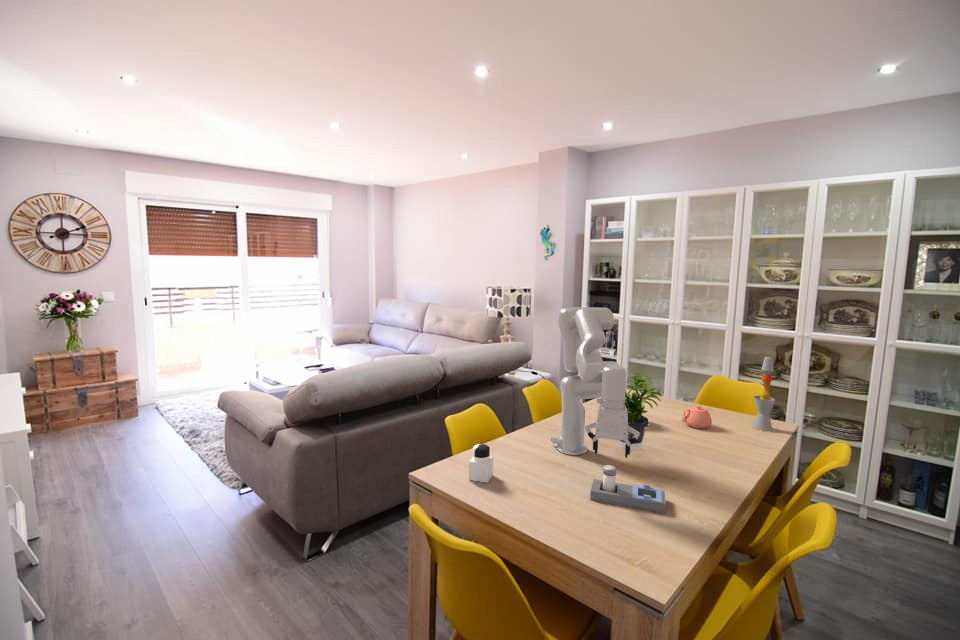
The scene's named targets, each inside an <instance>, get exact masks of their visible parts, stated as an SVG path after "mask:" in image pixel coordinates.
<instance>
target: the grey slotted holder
mask: <svg viewBox="0 0 960 640" xmlns="http://www.w3.org/2000/svg"><path fill="white" fill-rule="evenodd" d="M589 499H590V500H591V501H597V502H603V503H608V504H613V505H619V506H623V507H624V506H625V507H630V508H635V509H641V510H646V511H653V512H657V513H663V514H665V513H666V506H667V505H666V503H667V502H666V493H665V490H663V489H662V488H657V487H651V484H650V483H649V484H648V483H644V484H643V485H637V484H627V483H626V484H625V483H619V482H615V493H614V492H608V491H603V479H596V478H594V479H593V480H592V483H591V487H590V496H589Z"/></svg>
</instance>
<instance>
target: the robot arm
mask: <svg viewBox="0 0 960 640" xmlns="http://www.w3.org/2000/svg"><path fill="white" fill-rule="evenodd" d="M557 316H558V317H557V321H558V328H559V331H560V334H561V337H562V356H563V357H562V358H563V359H562V360H563V368H564V370H565V372H569V373H578V375H567V376H565V377H562V379H561V380H560V383H559V385H560V386H559V387H560V393H561V426H560V427H561V430H560V436H558V437H555V436H551V437H550V442H552V444H557V445H556V450H557V451H558V450H559V451H558V452H560V453H562V454H564V453H565V455H568V456H583V455H584V454H585V455H586V454H587V452H588V446H587V445H585V432H586V433H587V436H588V437H589V438H590V439H591V441H592V450H593V451H594V454H595V455H596V454H598V451H599V450H598V449H599V439H607V440H613V441H623V442H624V443H625V447H624V448H625V450H624V452H625V453H624V457H625V458H626V459H627V458H628V456H630V455H631V446H632V445H633V444H634V443H636V442H637V439H638V438H639V437H640V435H641V433H640V432H639V431H638V430H636V429H634V427H631V426H629V423H628V413H627V408H625V392H627V391H626V389H627V388H626V385H627V384H626V383H627V370H626V368H625V367H624V366H621V365H620V364H619V363H618V362H616V361H609V360H608V361H607V360H605V361H604V360H603V357H602V354H601V352H600V351H599V349H600V348H601V347H603V346H604V345H605V343H606V340H607V339H606V338H607V337H606V334H605V332H604V330H607V331H608V330H611V329H612V328H613V327H614V324H615V317H614V314H613V312H612V310H611V309H609V308H608V307H596V306H595V307H592V306H591V307H589V306H588V307H587V306H585V307H582V306H581V307H580V306H576V307H574V306H573V307H572V306H571V307H565V308H562V309H561V310H559V313H558V315H557ZM585 399H586V400H587V399H588V400H590V399H592V400H593V399H596V403H597V404H599V406H598V408H597V412H596V420H595V422H593V423H591V424H587V425H586V424H585V423H586V422H585V421H586V408H585V406H584V405H583V403H582V402H581V401H580V400H585ZM585 425H586V426H585ZM594 428H595V434H594V433H593V431H592V429H594ZM629 433H631V434H632V435H633V436H632V437H631V438H629Z"/></svg>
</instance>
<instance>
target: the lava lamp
mask: <svg viewBox="0 0 960 640" xmlns="http://www.w3.org/2000/svg"><path fill="white" fill-rule="evenodd" d="M762 362H763V363H762V366H761V370H762V371H764V372H766V371H767V372H774V360H773V357H771V356H765V357H764V358H763V361H762ZM760 378H761V382H762V383H763V386H764V390H763V391H761V392H760V395H754V396H753V399H754V402H755V405H756V409H757V412H758V413H757V415H756V416H755V419H754V421H753V424H751V428H752V429H753V428H754V429H753V430H756V429H757V430H756V431H759V430H762V431H761V432H764V431H771V432H773V431H774V429H773V425H772V422H771V417H770V412H771V411H772V410H773V407H774V405H775V403H776V401H777V399H776V398H774V397H771V396H770V386H771V383H772V381H773V376H772V375H770V374H769V373H764V374H762V376H761V377H760ZM772 430H773V431H772Z"/></svg>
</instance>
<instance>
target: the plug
mask: <svg viewBox="0 0 960 640" xmlns="http://www.w3.org/2000/svg"><path fill="white" fill-rule="evenodd" d="M602 472H603V474H602V475H603V476H602V481H603V491H608V492H614V493H615V483H616V475H617V467H616V466H614V465H611V464H606V465H603V471H602Z"/></svg>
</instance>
